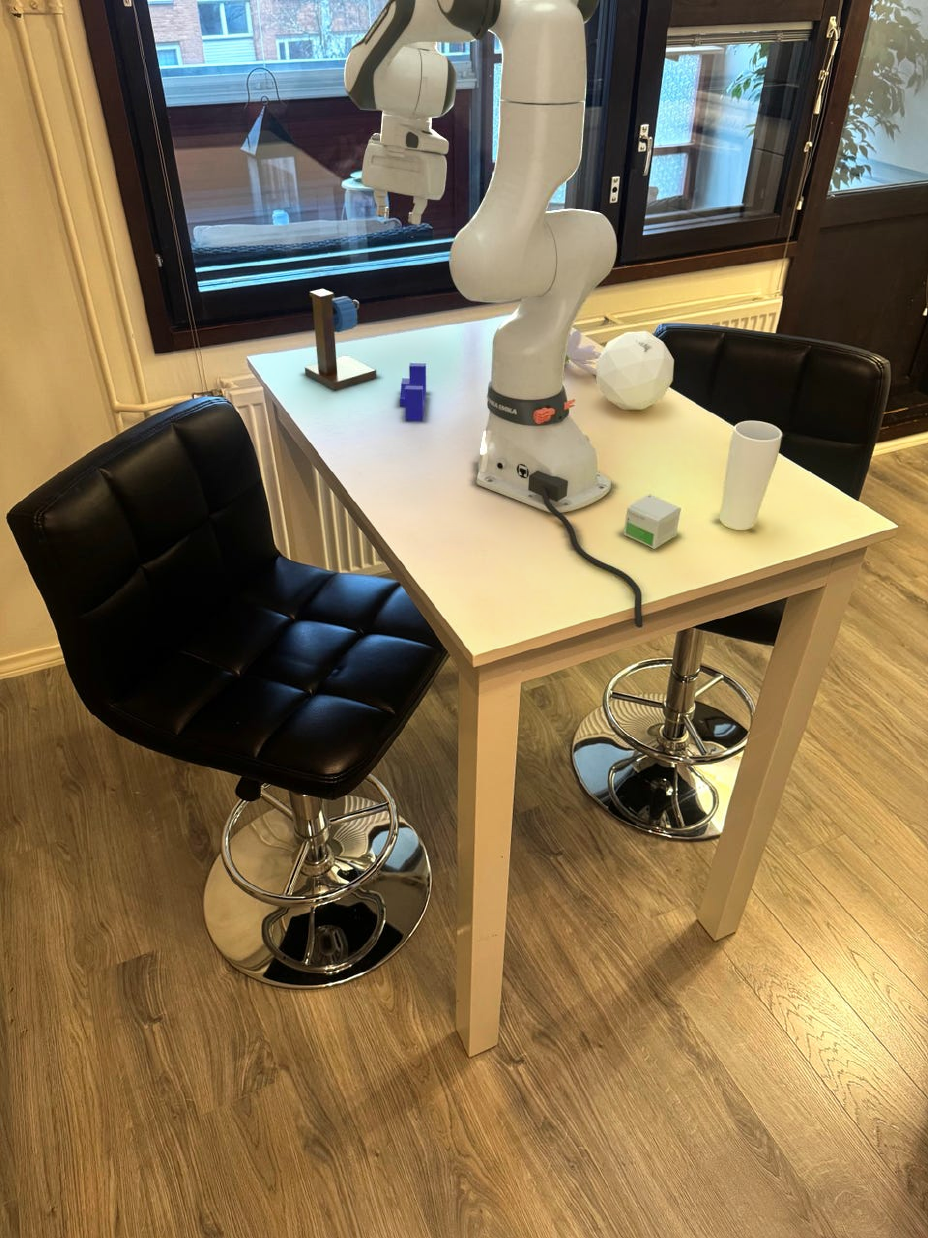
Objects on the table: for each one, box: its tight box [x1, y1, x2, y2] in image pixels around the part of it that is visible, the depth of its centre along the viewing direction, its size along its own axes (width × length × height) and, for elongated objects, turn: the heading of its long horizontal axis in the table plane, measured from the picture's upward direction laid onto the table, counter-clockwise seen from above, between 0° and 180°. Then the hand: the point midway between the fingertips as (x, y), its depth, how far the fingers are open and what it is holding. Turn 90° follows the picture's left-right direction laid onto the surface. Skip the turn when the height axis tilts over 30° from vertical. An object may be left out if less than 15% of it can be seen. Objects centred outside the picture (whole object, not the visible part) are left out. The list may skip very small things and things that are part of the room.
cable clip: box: [399, 362, 427, 422], centre depth 164 cm, size 12×4×6 cm, turn 179°
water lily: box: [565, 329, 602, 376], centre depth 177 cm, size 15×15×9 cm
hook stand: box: [304, 288, 377, 391], centre depth 172 cm, size 10×10×17 cm
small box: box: [623, 494, 682, 550], centre depth 130 cm, size 6×6×5 cm
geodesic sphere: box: [595, 330, 675, 411], centre depth 164 cm, size 15×14×14 cm
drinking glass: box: [718, 420, 783, 531], centre depth 131 cm, size 7×7×15 cm
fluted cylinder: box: [332, 295, 358, 333], centre depth 170 cm, size 3×6×6 cm, turn 41°
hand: (397, 220), depth 168 cm, fingers open, 8 cm apart
